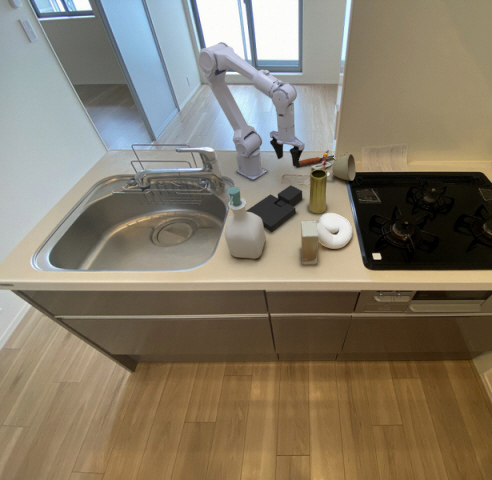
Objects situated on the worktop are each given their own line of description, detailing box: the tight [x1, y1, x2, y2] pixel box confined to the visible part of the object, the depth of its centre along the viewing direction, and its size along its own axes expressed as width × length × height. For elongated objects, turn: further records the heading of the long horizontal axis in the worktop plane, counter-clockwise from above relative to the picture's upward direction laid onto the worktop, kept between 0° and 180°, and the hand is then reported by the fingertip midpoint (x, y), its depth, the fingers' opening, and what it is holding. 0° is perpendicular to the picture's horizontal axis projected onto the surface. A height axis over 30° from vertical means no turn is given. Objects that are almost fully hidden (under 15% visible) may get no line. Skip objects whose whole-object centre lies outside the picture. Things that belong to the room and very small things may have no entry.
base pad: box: [246, 194, 297, 233], centre depth 96 cm, size 12×12×2 cm
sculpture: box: [317, 212, 354, 250], centre depth 87 cm, size 12×15×8 cm
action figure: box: [321, 149, 331, 178], centre depth 111 cm, size 12×3×9 cm, turn 169°
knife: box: [295, 154, 335, 168], centre depth 120 cm, size 26×3×5 cm
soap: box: [310, 161, 333, 170], centre depth 117 cm, size 10×4×1 cm, turn 129°
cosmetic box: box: [300, 219, 319, 265], centre depth 79 cm, size 6×4×12 cm
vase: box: [308, 169, 328, 214], centre depth 94 cm, size 6×6×14 cm
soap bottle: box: [224, 186, 267, 260], centre depth 77 cm, size 10×10×23 cm
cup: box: [331, 153, 356, 182], centre depth 109 cm, size 10×10×7 cm
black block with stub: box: [276, 184, 303, 207], centre depth 100 cm, size 6×10×4 cm, turn 140°
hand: (287, 161), depth 103 cm, fingers open, 7 cm apart
